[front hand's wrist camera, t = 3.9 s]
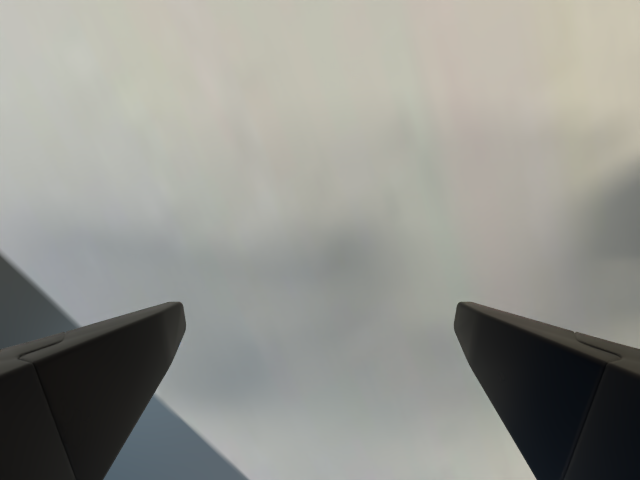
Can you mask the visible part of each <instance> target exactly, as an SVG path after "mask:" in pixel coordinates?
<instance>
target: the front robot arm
mask: <svg viewBox="0 0 640 480" xmlns="http://www.w3.org/2000/svg"><path fill="white" fill-rule="evenodd" d="M185 330H186V321H185V315H184V308H183V305H182V303H181V302H167V303H163V304H160V305H157V306H153V307H150V308H146V309H143V310H139V311H136V312H132V313H129V314H125V315H122V316H118V317H115V318H112V319H108V320H105V321H101V322H98V323H94V324H91V325H87V326H84V327H80V328H77V329H74V330H70V331H67V332H66V333H65V332H61V333H58V334H54V335H51V336H47V337H44V338H40V339H37V340H33V341H29V342H26V343H22V344H18V345H14V346H11V347H7V348H3V349H0V480H103V479H104V477H105V476H106V474H107V472H108V471H109V469H110V467H111V465H112V464H113V462H114V460H115V459H116V457H117V455H118V454H119V452H120V450H121V448H122V447H123V445H124V443H125V442H126V440H127V438H128V437H129V435H130V433H131V432H132V430H133V428H134V426H135V425H136V423H137V421H138V420H139V418H140V416H141V415H142V413H143V411H144V410H145V408H146V406H147V404H148V403H149V401H150V399H151V398H152V396H153V394H154V393H155V391H156V389H157V387H158V386H159V384H160V382H161V381H162V379H163V377H164V376H165V374H166V372H167V371H168V369H169V367H170V365H171V363H172V361H173V359H174V356H175V354H176V352H177V349H178V347H179V345H180V342H181V340H182V338H183V335H184V333H185ZM454 330H455V333H456V335H457V338H458V340H459V342H460V345H461V347H462V349H463V352H464V354H465V356H466V359H467V361H468V363H469V365H470V367H471V369H472V371H473V372H474V374H475V376H476V377H477V379H478V381H479V382H480V384H481V386H482V387H483V389H484V391H485V393H486V394H487V396H488V398H489V399H490V401H491V403H492V404H493V406H494V408H495V410H496V411H497V413H498V415H499V416H500V418H501V420H502V421H503V423H504V425H505V426H506V428H507V430H508V432H509V433H510V435H511V437H512V438H513V440H514V442H515V443H516V445H517V447H518V448H519V450H520V452H521V454H522V455H523V457H524V459H525V460H526V462H527V464H528V465H529V467H530V469H531V471H532V472H533V474H534V476H535V477H536V479H537V480H640V349H637V348H633V347H629V346H626V345H622V344H618V343H614V342H611V341H607V340H603V339H600V338H596V337H593V336H589V335H586V334H582V333H579V332H575V333H574V332H573V331H570V330H567V329H563V328H560V327H556V326H553V325H549V324H546V323H542V322H539V321H535V320H532V319H528V318H525V317H522V316H518V315H515V314H511V313H508V312H504V311H501V310H497V309H494V308H490V307H487V306H483V305H480V304H477V303H473V302H459V303H458V305H457V308H456V315H455V321H454Z"/></svg>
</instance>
